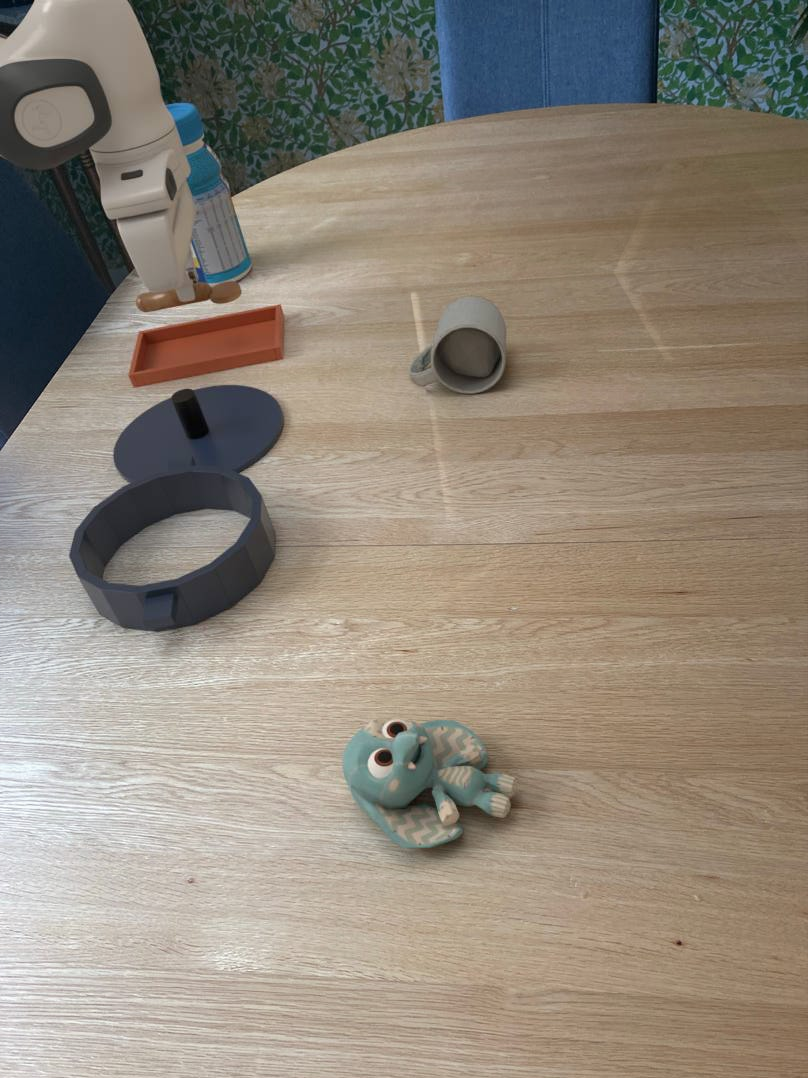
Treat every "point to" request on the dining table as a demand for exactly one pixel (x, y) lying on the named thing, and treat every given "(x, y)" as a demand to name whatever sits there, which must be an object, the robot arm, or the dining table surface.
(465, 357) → the ceramic mug
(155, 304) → the spoon
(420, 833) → the stuffed animal
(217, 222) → the beverage bottle
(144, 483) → the pot
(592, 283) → the dining table surface
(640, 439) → the dining table surface
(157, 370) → the tray
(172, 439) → the lid
